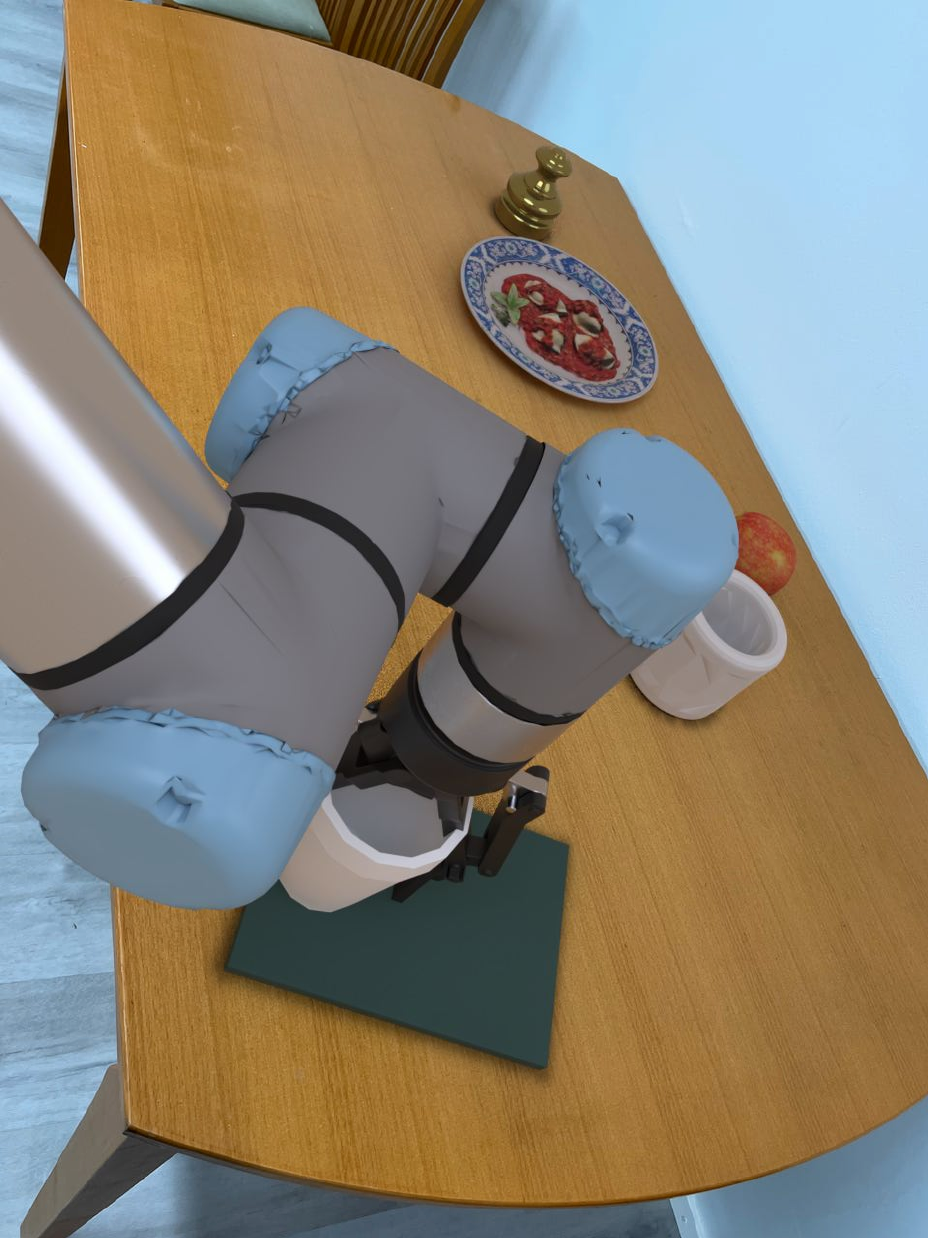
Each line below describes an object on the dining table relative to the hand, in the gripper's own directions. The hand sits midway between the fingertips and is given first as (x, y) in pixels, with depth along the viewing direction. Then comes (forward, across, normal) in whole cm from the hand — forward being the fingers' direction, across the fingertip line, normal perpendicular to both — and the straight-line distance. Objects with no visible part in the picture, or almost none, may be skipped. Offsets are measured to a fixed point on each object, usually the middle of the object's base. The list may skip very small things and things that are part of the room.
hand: (330, 857), depth 63 cm
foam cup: (+2, 0, 0) cm, 2 cm away
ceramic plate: (+3, -10, -71) cm, 72 cm away
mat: (+3, -7, 0) cm, 7 cm away
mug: (+3, -26, -29) cm, 39 cm away
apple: (+3, -34, -45) cm, 56 cm away
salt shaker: (+3, -3, -89) cm, 89 cm away
